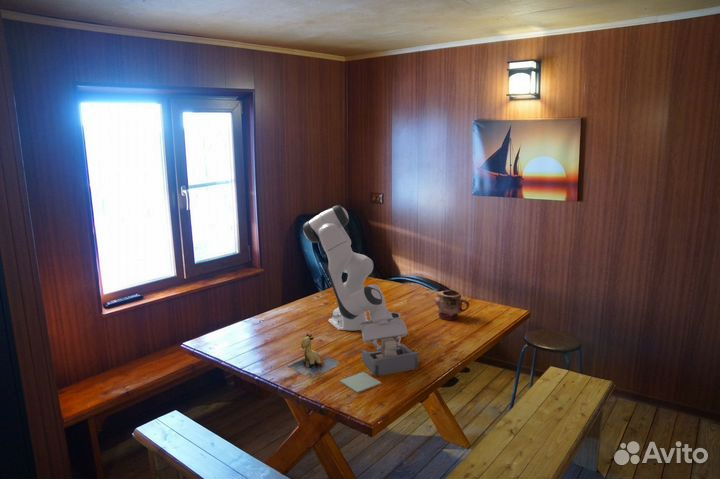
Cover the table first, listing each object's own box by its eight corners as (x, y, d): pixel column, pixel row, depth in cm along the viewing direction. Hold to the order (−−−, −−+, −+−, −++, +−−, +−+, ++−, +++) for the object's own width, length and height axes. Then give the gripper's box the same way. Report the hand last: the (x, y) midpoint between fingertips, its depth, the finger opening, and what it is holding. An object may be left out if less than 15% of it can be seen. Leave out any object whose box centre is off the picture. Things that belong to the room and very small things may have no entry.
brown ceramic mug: (473, 317, 283) (473, 292, 280) (465, 324, 272) (466, 299, 269) (437, 311, 292) (438, 287, 289) (429, 318, 282) (429, 293, 279)
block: (381, 356, 230) (381, 339, 229) (392, 354, 232) (392, 337, 230) (385, 360, 226) (385, 342, 225) (396, 358, 228) (396, 341, 226)
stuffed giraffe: (286, 367, 229) (286, 332, 226) (317, 355, 242) (318, 322, 238) (311, 379, 218) (311, 343, 215) (342, 366, 231) (343, 332, 228)
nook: (362, 361, 233) (362, 346, 232) (403, 353, 239) (403, 339, 238) (375, 376, 218) (375, 360, 217) (418, 368, 225) (418, 353, 223)
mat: (339, 381, 215) (339, 380, 215) (363, 373, 222) (363, 371, 221) (357, 393, 205) (357, 391, 205) (381, 383, 212) (381, 382, 212)
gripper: (360, 319, 229) (368, 349, 222) (403, 313, 235) (412, 342, 228) (356, 325, 234) (364, 355, 227) (399, 319, 240) (408, 347, 233)
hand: (389, 348), depth 228 cm, fingers open, 8 cm apart
